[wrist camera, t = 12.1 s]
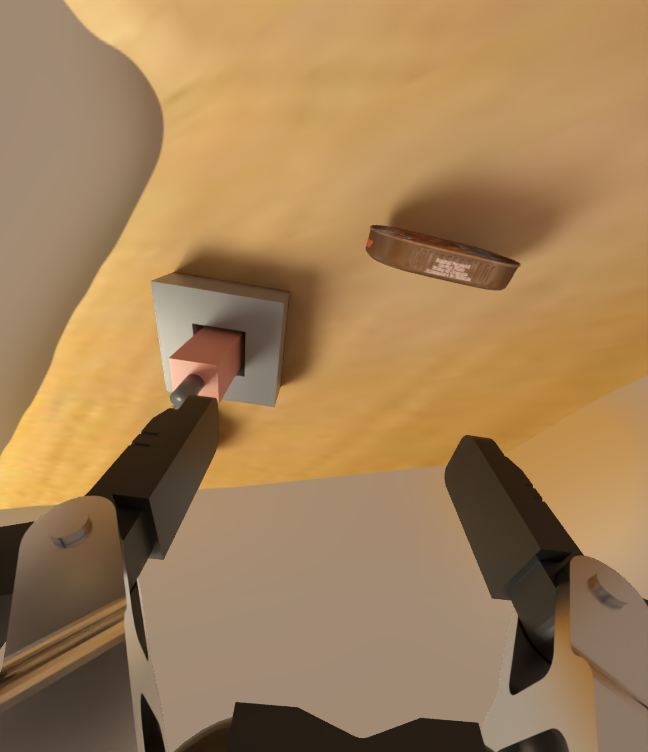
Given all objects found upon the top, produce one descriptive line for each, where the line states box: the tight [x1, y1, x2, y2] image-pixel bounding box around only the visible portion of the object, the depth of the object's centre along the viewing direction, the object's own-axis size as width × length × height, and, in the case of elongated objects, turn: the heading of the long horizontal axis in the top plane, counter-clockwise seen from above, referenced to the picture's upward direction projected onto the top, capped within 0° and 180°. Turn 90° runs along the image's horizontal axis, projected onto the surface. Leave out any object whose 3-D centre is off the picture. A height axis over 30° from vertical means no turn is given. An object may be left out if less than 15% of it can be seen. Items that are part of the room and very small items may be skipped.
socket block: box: [151, 272, 290, 407], centre depth 36 cm, size 14×14×5 cm
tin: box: [366, 225, 521, 290], centre depth 29 cm, size 15×3×8 cm, turn 78°
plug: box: [169, 326, 246, 408], centre depth 31 cm, size 4×4×14 cm
